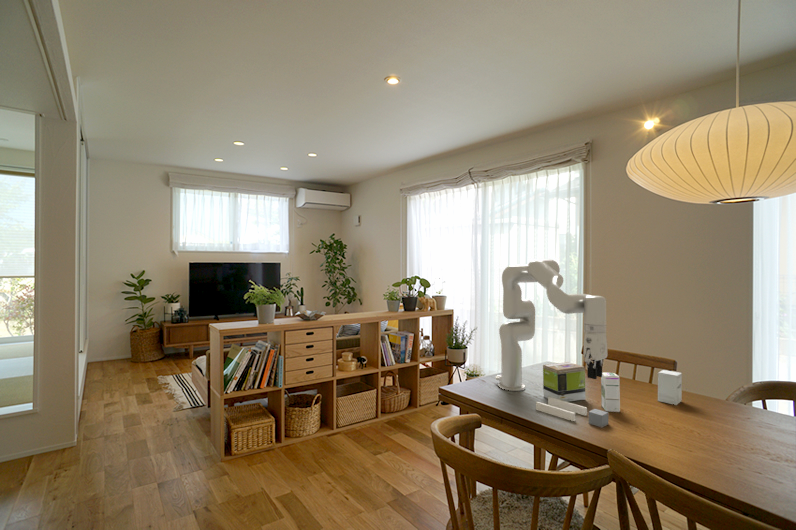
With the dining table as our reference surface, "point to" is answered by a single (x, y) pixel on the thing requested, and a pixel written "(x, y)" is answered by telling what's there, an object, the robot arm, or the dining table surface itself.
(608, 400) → the syrup box
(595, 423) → the block
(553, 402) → the channel
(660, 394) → the supplement box
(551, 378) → the tea box
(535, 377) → the dining table surface
